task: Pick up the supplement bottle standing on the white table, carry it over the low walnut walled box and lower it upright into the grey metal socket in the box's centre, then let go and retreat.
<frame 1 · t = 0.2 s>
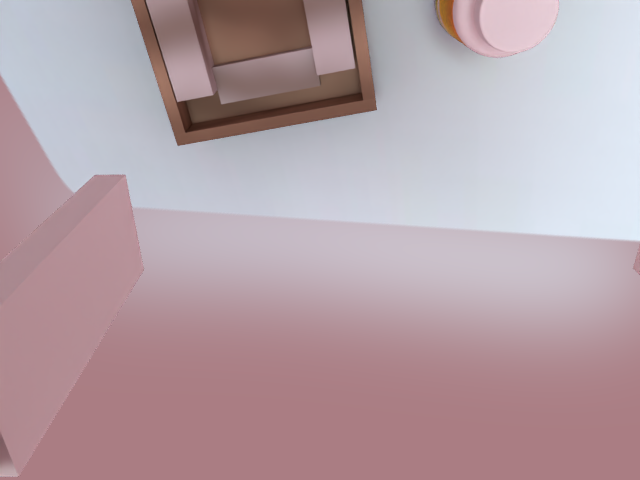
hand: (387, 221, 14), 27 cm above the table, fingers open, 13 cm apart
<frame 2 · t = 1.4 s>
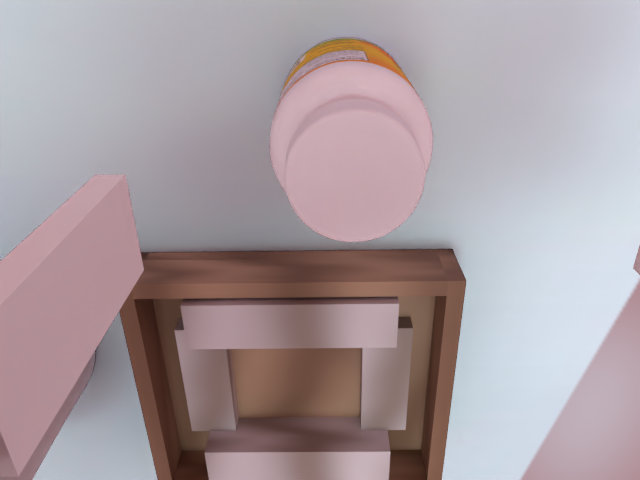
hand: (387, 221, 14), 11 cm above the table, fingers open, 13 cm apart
walled box: (297, 360, 30), on the table
mug: (2, 316, 30), on the table
supplement bottle: (344, 99, 24), on the table
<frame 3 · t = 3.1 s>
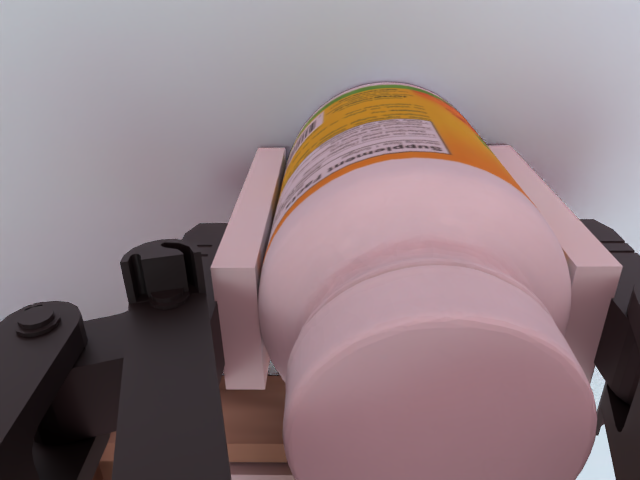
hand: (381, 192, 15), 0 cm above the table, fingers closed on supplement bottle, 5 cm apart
supplement bottle: (381, 172, 16), on the table, touching gripper
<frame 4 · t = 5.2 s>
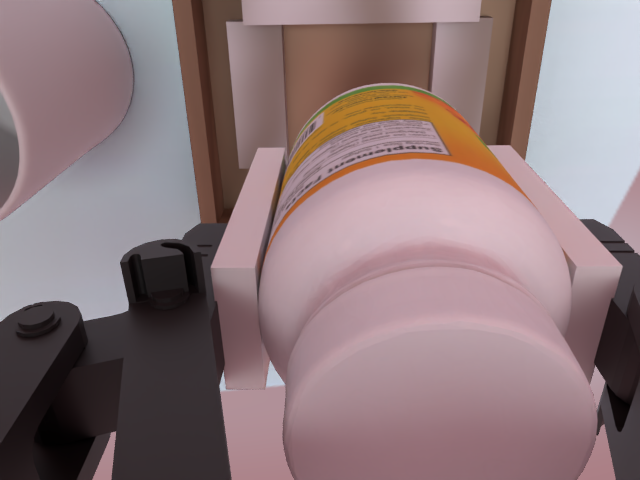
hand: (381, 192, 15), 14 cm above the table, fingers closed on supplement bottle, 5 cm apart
walled box: (356, 90, 28), on the table
mug: (32, 31, 27), on the table
supplement bottle: (381, 172, 16), point 13 cm above the table, touching gripper
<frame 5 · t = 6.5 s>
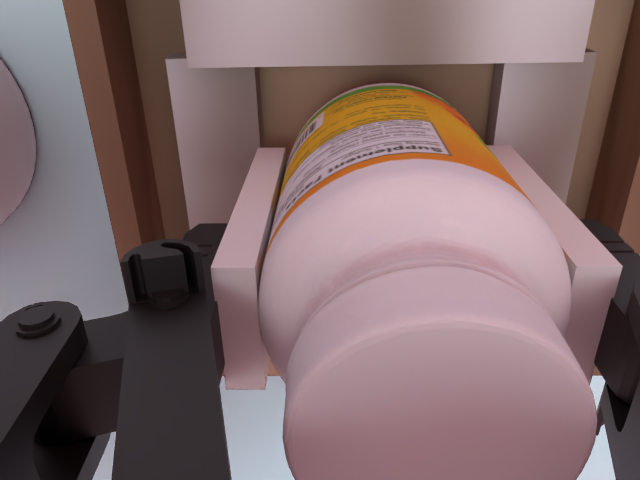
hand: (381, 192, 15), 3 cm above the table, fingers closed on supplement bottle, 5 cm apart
walled box: (371, 155, 18), on the table
supplement bottle: (381, 172, 16), point 3 cm above the table, touching gripper
when the fingers open (3 cm above the table, at t = 7.5 s): supplement bottle drops 2 cm, resting on walled box.
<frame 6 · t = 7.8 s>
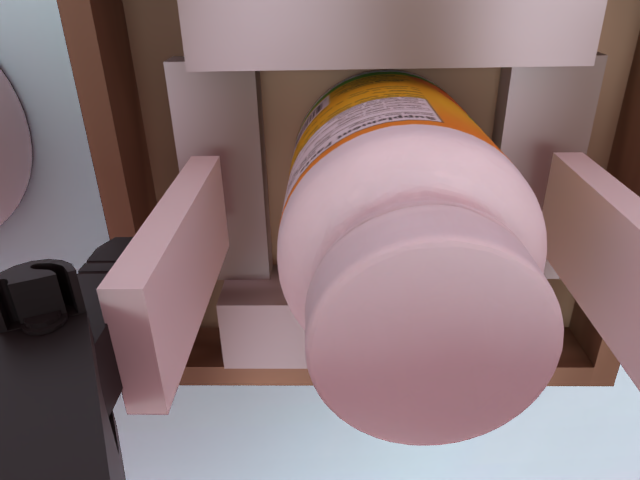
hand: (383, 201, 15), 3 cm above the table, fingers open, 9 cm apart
walled box: (374, 160, 18), on the table
supplement bottle: (380, 153, 17), point 1 cm above the table, touching walled box
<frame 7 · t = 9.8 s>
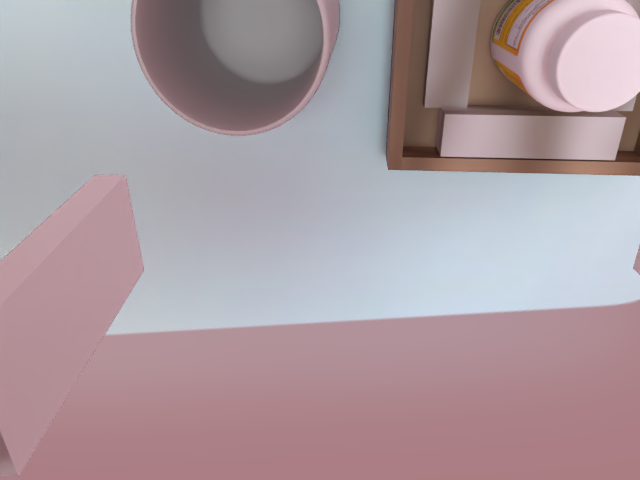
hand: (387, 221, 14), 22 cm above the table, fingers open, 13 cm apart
walled box: (529, 42, 32), on the table
supplement bottle: (535, 35, 31), point 1 cm above the table, touching walled box
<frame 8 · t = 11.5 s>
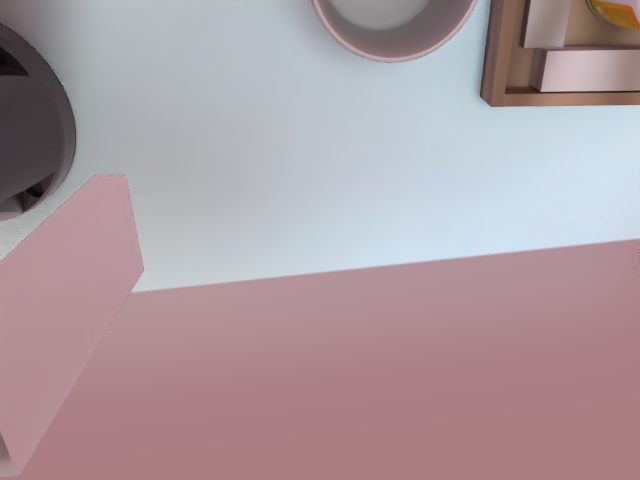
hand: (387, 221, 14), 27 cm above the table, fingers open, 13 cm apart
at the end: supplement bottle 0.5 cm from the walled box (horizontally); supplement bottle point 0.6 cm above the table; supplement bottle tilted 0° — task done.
